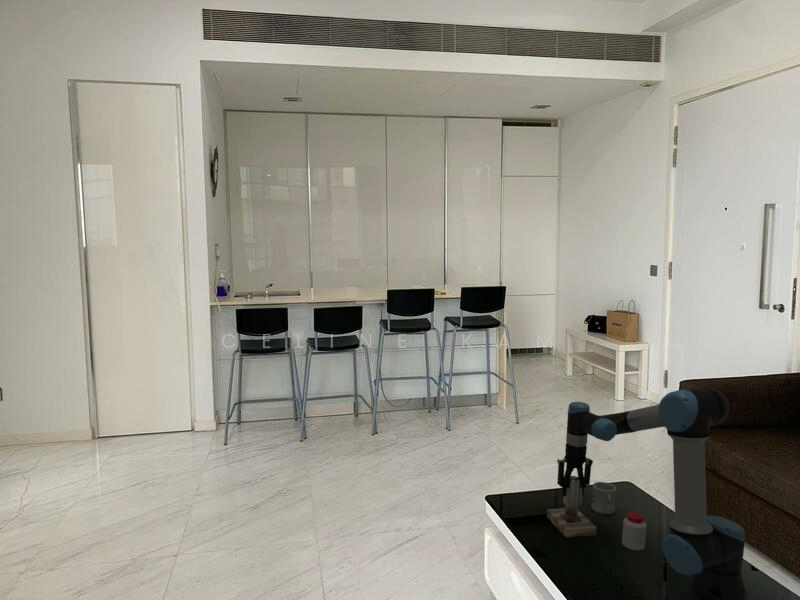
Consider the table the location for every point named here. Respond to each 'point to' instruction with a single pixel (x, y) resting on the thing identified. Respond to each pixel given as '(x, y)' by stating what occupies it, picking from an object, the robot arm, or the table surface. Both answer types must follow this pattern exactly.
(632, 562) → the table surface
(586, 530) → the jig
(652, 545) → the table surface
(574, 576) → the table surface
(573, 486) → the grey cylindrical peg
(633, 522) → the pill bottle
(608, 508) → the mug
